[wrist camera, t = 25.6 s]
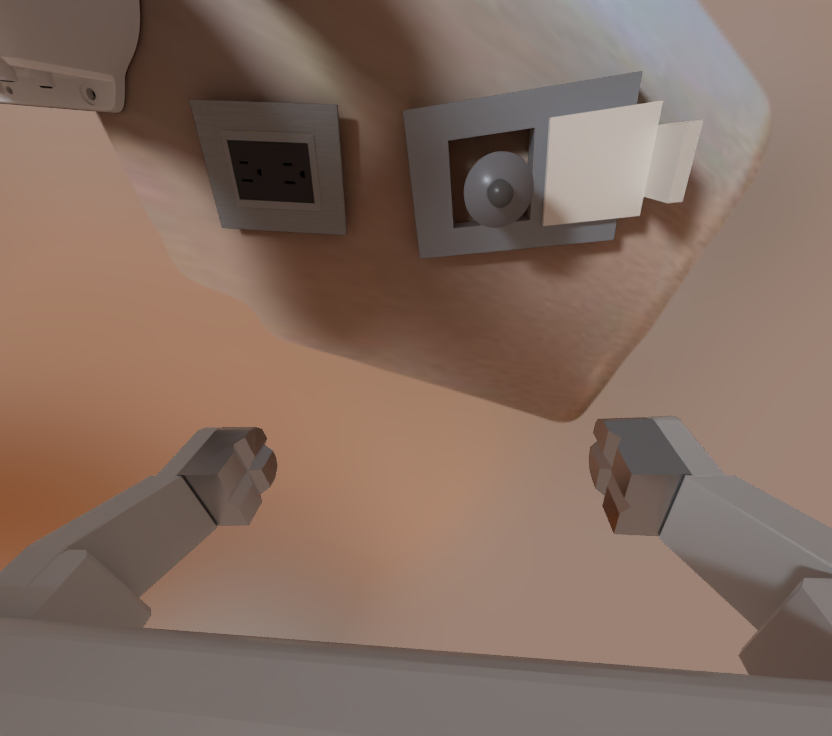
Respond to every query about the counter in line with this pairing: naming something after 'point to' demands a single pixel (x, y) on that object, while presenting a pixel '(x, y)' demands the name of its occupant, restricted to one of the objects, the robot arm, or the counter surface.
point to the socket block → (520, 112)
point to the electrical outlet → (273, 164)
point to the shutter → (615, 163)
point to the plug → (498, 189)
